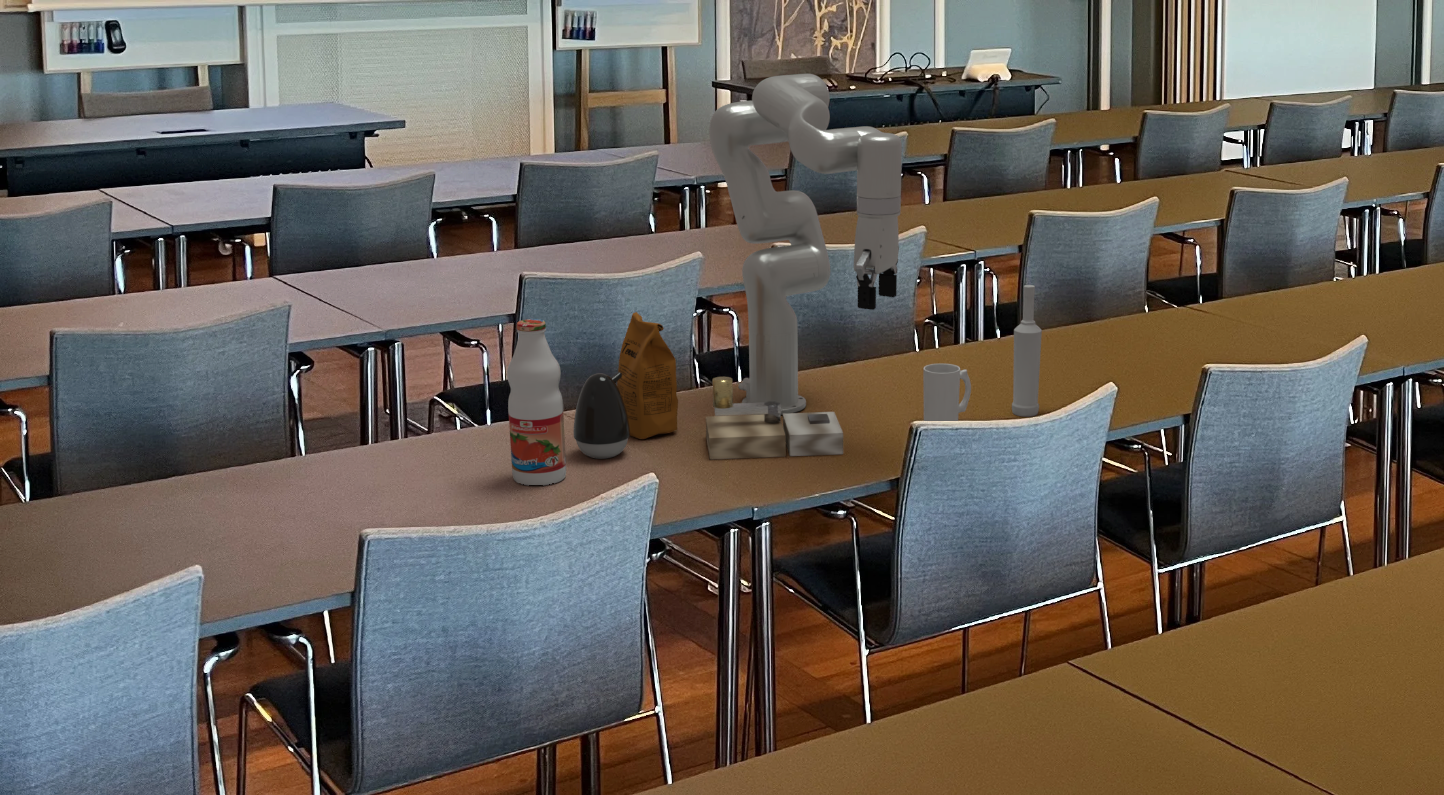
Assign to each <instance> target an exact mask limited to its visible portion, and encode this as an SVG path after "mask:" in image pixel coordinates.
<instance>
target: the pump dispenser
mask: <svg viewBox="0 0 1444 795" xmlns="http://www.w3.org/2000/svg"><path fill="white" fill-rule="evenodd" d="M621 377H622V374H621V373H620V372H618V371H617V373H615V374H613V376H609V374H605V373H600V372H597V373H593V374H591V375H590V376H588V378H587V379H586V380H585V382H584V384H583V386H582V388H581V389H580V393H579V395H578V396H579V397H578V400H577V403H576V407H575V413H574V421H573V430H572V431H573V432H572V433H573V438H574V440H575V442H576V445H577V447H578V448H579V450H580V452H582V454H584V455H585V456H587V457H589V458H592V459H598V460H600V459H601V460H603V459H611V458H614V457H616V456H617V455H619V454H621V453H622V452H623V451H624V450H625V448H626V446H627V444H628V440H629V437H631V436H630V426H629V420H628V415H627V411H626V407H625V404H624V401H623V398H622V396H621V393H620V391H619V389H618V387H617V381H618V380H619V379H620V378H621Z"/></svg>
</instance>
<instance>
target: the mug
mask: <svg viewBox="0 0 1444 795" xmlns="http://www.w3.org/2000/svg"><path fill="white" fill-rule="evenodd" d="M922 376H923V377H922V378H923V383H922V384H923V422H924V421H958V422H959V414H960V413H964V412H966V410H967V407H968V404H969V400H970V398H971V393H972V384H971V379H970V377H969V374H968V369H962V370H961V368H960V366H959V365H956V364H952V363H931V364H927V365H924V367H923V375H922ZM961 380H962V381H963V384H964V389H965V390H964V395H963V398H962V400H961V402H960V385H961ZM959 402H960V403H959Z"/></svg>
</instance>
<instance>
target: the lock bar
mask: <svg viewBox="0 0 1444 795" xmlns="http://www.w3.org/2000/svg"><path fill="white" fill-rule="evenodd" d="M733 392H734V391H733V378H732V377H730V376H717V377H713V378H712V407H713V408H714V416H736V415H762V414H764V421H765V422H767V423H778V422H780V421H781V422H782V418H781V404H780V402H759V403H742V402H740V403H739V402H738V403H735V402H734V399H733V398H734V395H733V394H734V393H733ZM733 402H734V403H733Z"/></svg>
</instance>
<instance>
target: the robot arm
mask: <svg viewBox="0 0 1444 795" xmlns="http://www.w3.org/2000/svg"><path fill="white" fill-rule="evenodd" d="M830 97H831V96H830V91H829V89H828V86H827V84H826V82H825V81H824V80H823V79H822V78H821V77H819V76H818V75H816V74H813V73H798V74H786V75H785V74H784V75H783V74H781V75H774V76H770V77H767V78H765V79H763V80H761V81H760V82H759V83H758V84H757V85H756V86H755V88H754V89H753V91H752V96H751V100H744V101H737V102H731V103H727V104H725V105H722V106H720V107H718V108H717V109H716V110H715V111H714V112H713V114H712V116H711V119H710V122H709V128H708V129H709V130H708V133H709V134H708V135H709V142H710V143H709V144H710V147H711V151H712V153H713V156H714V158H715V161H716V162H717V165H718V167H719V169H720V170H721V173H722V175H723V178H724V180H725V184H726V186H727V191H728V195H729V198H730V202H731V206H732V209H733V215H734V217H735V221H736V225H737V229H738V232H739V234H740V236H741V238H742V239H743V240H744V241H745V242H747V243H749V244H752V245H755V244H758V245H759V244H767V243H775V242H782V241H783V242H784V241H789V244H790V245H783V246H774V247H768V248H763V249H759V250H756V251H754V252H752V253H750V254H749V255H748V256H747V257H746V259H745V260H744V261H743V265H742V268H741V270H742V272H741V275H742V282H743V286H744V290H745V294H746V295H745V297H746V301H747V302H746V303H747V318H748V319H747V321H748V323H747V324H748V354H749V356H748V357H749V358H748V361H749V362H748V363H749V364H748V365H749V368H748V369H749V371H748V372H749V377H745V378H743V380H742V382H740V383H738V389H739V390H740V391H746V392H745V393H746V397H744V398H742V401H741V403H759V402H780V404H781V415H782V416H783V414H788V413H799V412H801V411H802V410H803V409H805V408H806V406H807V401H806V400H807V399H806V398H805V397H804V396H802V395H800V394H799V369H798V368H799V366H798V362H799V358H798V357H799V356H798V354H799V353H798V352H799V351H798V348H799V347H798V345H799V344H798V317H797V315H796V313H795V311H794V309H793V307H792V306H791V305H790V303H789V302H788V300H787V297H788V296H789V297H790V296H794V295H800V294H806V293H810V292H811V293H812V292H817V291H820V290H821V289H824V288H825V287H826V286H827V285H828V283H829V280H830V277H831V262H830V257H829V253H828V250H827V249H828V248H827V246H826V242H825V239H824V235H823V231H822V227H821V222H820V219H819V216H818V212H817V208H816V206H815V205H814V203H813V201H812V199H811V198H810V196H808V195H807V194H806V193H805V192H802V191H800V190H783V191H776V190H775V188H774V187H773V183H772V180H771V176H770V172H769V169H768V167H767V166H766V164H765V163H764V162H763V161H762V159H761V158H760V156H758V155H757V154H756V153H754V152H753V151H752V150H751V149H750V146H759V145H769V144H779V143H786V142H787V143H788V145H789V150H790V151H791V153H792V156H793V157H794V159H795V160H796V161H798V162H799V163H800V164H801V165H802V166H803V165H804V167H806V168H807V169H809V170H811V171H814V172H815V173H818V174H823V175H829V174H831V175H832V174H838V173H846V172H857V173H856V174H857V175H856V177H857V178H856V215H857V216H858V217H857V222H856V227H855V233H854V234H855V236H854V250H853V271H854V272H855V273H856V276H855V278H856V286H857V308H858V309H860V310H861V309H862V310H863V309H864V310H871V311H872V310H873V311H874V310H876V307H877V286H875V282H876V279H877V276H878V296H879V297H886V298H887V297H889V298H896V297H897V291H898V290H897V286H898V285H897V283H898V282H897V280H898V276H897V274H898V269H899V268H898V266H897V265H898V262H899V252H900V251H899V250H900V245H899V244H900V242H899V236H900V235H899V219H898V217H899V216H900V215H901V208H902V207H901V203H902V201H901V199H902V195H901V194H902V193H901V192H902V151H903V150H902V148H903V147H902V139H901V138H900V136H899V135H897V134H895V133H892V132H891V133H889V132H882V131H880V130H879V129H877V128H875V127H873V126H867V125H866V126H856V127H855V126H854V127H844V128H843V127H842V128H833V129H832V128H831V129H828V127H829V123H830V119H831V118H830V117H831V116H830V110H829V105H830V99H831V98H830Z"/></svg>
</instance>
